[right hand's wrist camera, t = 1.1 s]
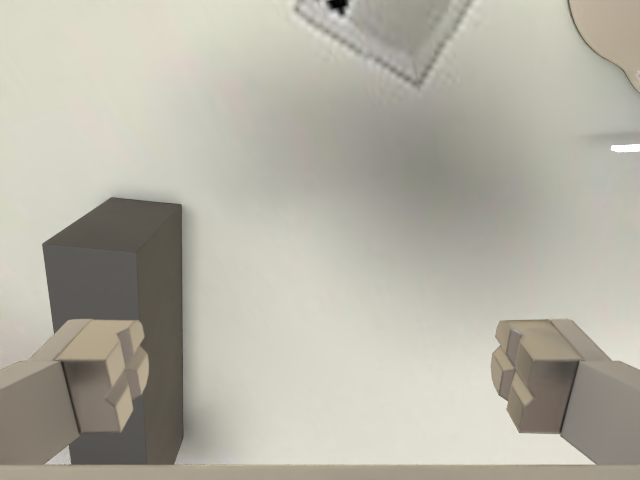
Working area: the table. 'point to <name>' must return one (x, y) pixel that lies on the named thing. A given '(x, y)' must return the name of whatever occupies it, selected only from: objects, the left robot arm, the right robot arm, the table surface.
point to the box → (127, 315)
